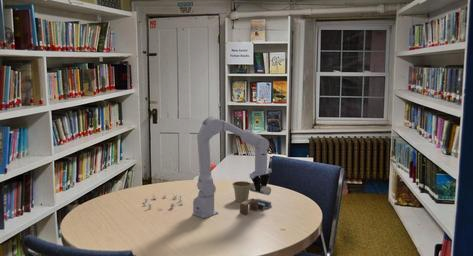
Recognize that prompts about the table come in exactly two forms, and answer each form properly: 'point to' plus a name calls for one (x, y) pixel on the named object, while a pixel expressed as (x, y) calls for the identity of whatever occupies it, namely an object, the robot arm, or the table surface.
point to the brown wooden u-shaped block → (244, 206)
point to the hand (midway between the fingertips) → (260, 190)
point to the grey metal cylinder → (261, 189)
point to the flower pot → (241, 190)
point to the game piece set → (164, 198)
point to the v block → (263, 204)
